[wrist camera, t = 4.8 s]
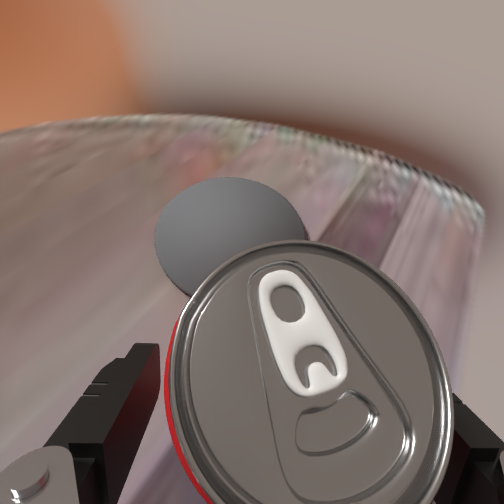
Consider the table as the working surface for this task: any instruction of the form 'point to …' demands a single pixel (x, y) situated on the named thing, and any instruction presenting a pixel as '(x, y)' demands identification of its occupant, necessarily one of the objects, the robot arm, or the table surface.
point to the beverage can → (307, 383)
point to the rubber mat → (219, 227)
